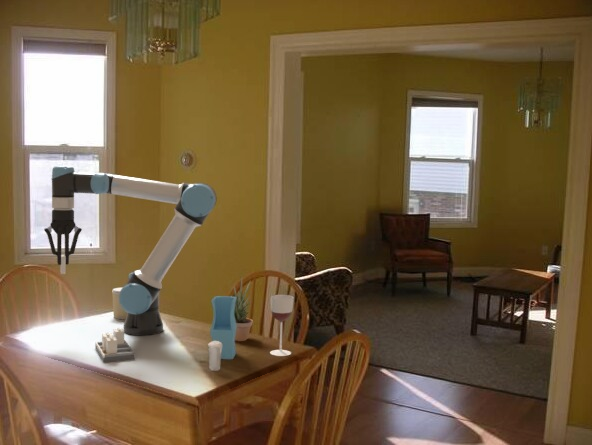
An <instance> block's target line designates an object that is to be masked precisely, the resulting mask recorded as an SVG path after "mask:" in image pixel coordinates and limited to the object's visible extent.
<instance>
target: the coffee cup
mask: <svg viewBox="0 0 592 445" xmlns="http://www.w3.org/2000/svg"><path fill="white" fill-rule="evenodd" d="M123 287H124V286H123ZM123 287H115V288H112V291H111V293H112V294H111V295H112V309H113V310H112V311H113V312H112V313H113V318H114V319H117V320H126V317H127V314H128V312H126V311H125V310H124V309H123V308H122V307H121V305H120V303H119V294H120V291H121V289H122V288H123Z"/></svg>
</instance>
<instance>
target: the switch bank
mask: <svg viewBox="0 0 592 445" xmlns="http://www.w3.org/2000/svg"><path fill="white" fill-rule="evenodd" d="M94 347H95V350H96V352H97V354H98V355H99V357H100V359H101V361H102V363H110V362H120V361H121V362H122V361H131V360H135V351H134V350H133V348H132V347H131V346H130V345H129V343H128V342H127V341H126V340H125V339H124V344H117V353H114V354H107V353H106V350H103V349H102V341H95V346H94Z"/></svg>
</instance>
